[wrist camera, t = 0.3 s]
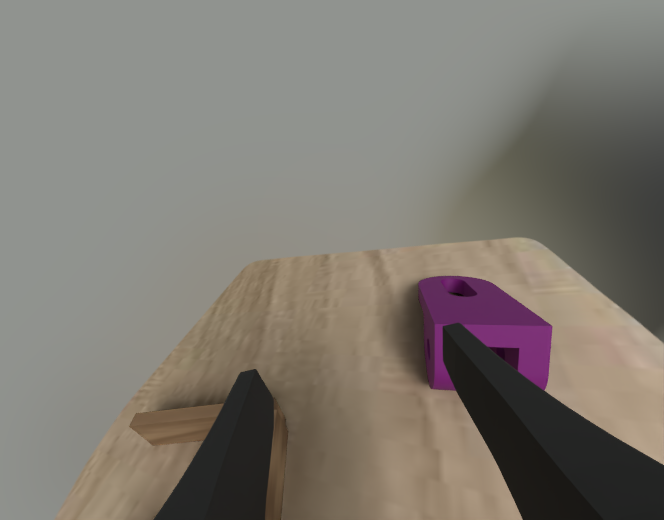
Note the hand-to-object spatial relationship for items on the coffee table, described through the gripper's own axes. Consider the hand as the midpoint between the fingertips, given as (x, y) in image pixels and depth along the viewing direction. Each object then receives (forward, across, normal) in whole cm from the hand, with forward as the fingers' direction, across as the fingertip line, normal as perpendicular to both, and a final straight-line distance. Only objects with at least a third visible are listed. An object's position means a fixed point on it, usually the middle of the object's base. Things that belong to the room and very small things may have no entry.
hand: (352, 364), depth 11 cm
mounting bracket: (+17, -13, +21) cm, 30 cm away
